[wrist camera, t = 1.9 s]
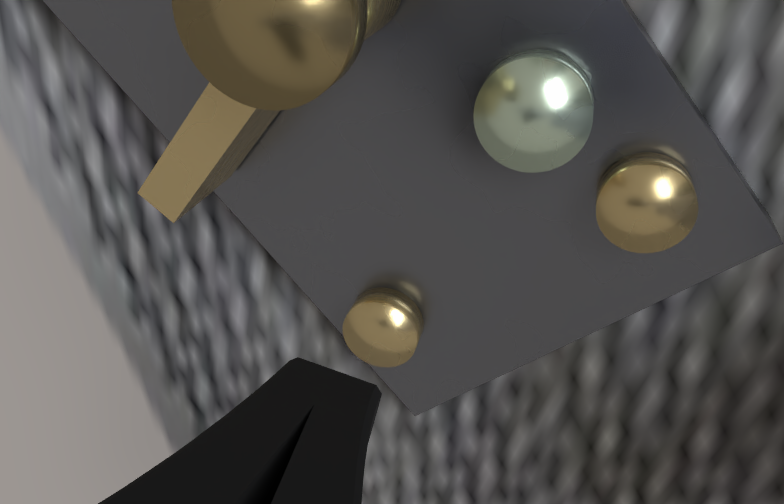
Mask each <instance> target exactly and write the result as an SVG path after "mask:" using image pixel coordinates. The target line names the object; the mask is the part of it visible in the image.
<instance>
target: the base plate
mask: <svg viewBox="0 0 784 504" xmlns="http://www.w3.org/2000/svg"><path fill="white" fill-rule="evenodd" d="M43 1H44V3H45V4H46V5H47V6H48V7H49V8H50V9H51V10H52V11H53V13H54V14H55V15H56V16H57V17H58V18H59V19H60V20H61V22H62V23H63V24H64V25H65V26H66V27H67V28H68V29H69V30H70V32H71V33H72V34H73V35H74V36H75V37H76V38H77V39H78V40H79V42H80V43H81V44H82V45H83V46H84V47H85V48H86V49H87V51H88V52H89V53H90V54H91V55H92V56H93V57H94V58H95V59H96V61H97V62H98V63H99V64H100V65H101V66H102V67H103V68H104V70H105V71H106V72H107V73H108V74H109V75H110V76H111V77H112V78H113V80H114V81H115V82H116V83H117V84H118V85H119V86H120V87H121V88H122V90H123V91H124V92H125V93H126V94H127V95H128V96H129V97H130V99H131V100H132V101H133V102H134V103H135V104H136V105H137V106H138V107H139V109H140V110H141V111H142V112H143V113H144V114H145V115H146V116H147V118H148V119H149V120H150V121H151V122H152V123H153V124H154V125H155V126H156V128H157V129H158V130H159V131H160V132H161V133H162V134H163V135H164V137H165V138H166V139H167V140H168V141H169V142H171V140H172V139H173V137H174V136H175V134H176V133H177V131H178V130H179V128H180V127H181V125H182V124H183V122H184V120H185V119H186V117H187V116H188V114H189V113H190V111H191V110H192V108H193V107H194V105H195V104H196V102H197V100H198V99H199V97H200V96H201V94H202V93H203V91H204V90H205V88H206V87H207V85H208V84H209V81H208V80H207V79H206V78H205V77H204V76H203V75H202V74H201V72H200V71H199V70H198V69H197V68H196V66H195V65H194V63H193V62H192V60H191V59H190V57H189V56H188V54H187V52H186V50H185V48H184V46H183V44H182V41H181V39H180V36H179V34H178V31H177V27H176V24H175V21H174V15H173V9H172V0H43ZM214 192H215V193H216V195H217V196H218V197H219V198H220V199H221V200H222V201H223V202H224V203H225V205H226V206H227V207H228V208H229V209H230V210H231V211H232V212H233V214H234V215H235V216H236V217H237V218H238V219H239V220H240V221H241V222H242V224H243V225H244V226H245V227H246V228H247V229H248V230H249V231H250V233H251V234H252V235H253V236H254V237H255V238H256V239H257V240H258V241H259V243H260V244H261V245H262V246H263V247H264V248H265V249H266V250H267V251H268V253H269V254H270V255H271V256H272V257H273V258H274V259H275V260H276V262H277V263H278V264H279V265H280V266H281V267H282V268H283V269H284V270H285V272H286V273H287V274H288V275H289V276H290V277H291V278H292V279H293V281H294V282H295V283H296V284H297V285H298V286H299V287H300V288H301V289H302V291H303V292H304V293H305V294H306V295H307V296H308V297H309V298H310V299H311V301H312V302H313V303H314V304H315V305H316V306H317V307H318V308H319V310H320V311H321V312H322V313H323V314H324V315H325V316H326V317H327V318H328V320H329V321H330V322H331V323H332V324H333V325H334V326H335V327H336V329H337V330H338V331H339V332H340V333H341V334H342V335H343V336H344V339H345V342H346V344H347V346H348V347H349V349H350V350H351V351H352V352H353V353H354V354H355V355H356V356H357V357H358V358H360V359H361V360H363V361H365V362H366V363H368V364H369V365H370V366H371V368H372V369H373V370H374V371H375V372H376V373H377V374H378V375H379V377H380V378H381V379H382V380H383V381H384V382H385V383H386V384H387V385H388V387H389V388H390V389H391V390H392V391H393V392H394V393H395V394H396V395H397V397H398V398H399V399H400V400H401V401H402V402H403V403H404V404H405V406H406V407H407V408H408V409H409V410H410V411H411V412H412V413H413V414H414V416H416V415H418V414H420V413H422V412H424V411H427V410H429V409H431V408H433V407H435V406H437V405H439V404H442V403H444V402H446V401H448V400H450V399H452V398H454V397H456V396H459V395H461V394H463V393H465V392H467V391H469V390H471V389H473V388H476V387H478V386H480V385H482V384H484V383H486V382H488V381H491V380H493V379H495V378H497V377H499V376H501V375H503V374H505V373H508V372H510V371H512V370H514V369H516V368H518V367H520V366H523V365H525V364H527V363H529V362H531V361H533V360H535V359H537V358H540V357H542V356H544V355H546V354H548V353H550V352H552V351H555V350H557V349H559V348H561V347H563V346H565V345H567V344H569V343H572V342H574V341H576V340H578V339H580V338H582V337H584V336H586V335H589V334H591V333H593V332H595V331H597V330H599V329H601V328H604V327H606V326H608V325H610V324H612V323H614V322H616V321H618V320H621V319H623V318H625V317H627V316H629V315H631V314H633V313H636V312H638V311H640V310H642V309H644V308H646V307H648V306H650V305H653V304H655V303H657V302H659V301H661V300H663V299H665V298H667V297H670V296H672V295H674V294H676V293H678V292H680V291H682V290H685V289H687V288H689V287H691V286H693V285H695V284H697V283H699V282H702V281H704V280H706V279H708V278H710V277H712V276H714V275H717V274H719V273H721V272H723V271H725V270H727V269H729V268H731V267H734V266H736V265H738V264H740V263H742V262H744V261H746V260H748V259H751V258H753V257H755V256H757V255H759V254H761V253H763V252H766V251H768V250H770V249H772V248H774V247H776V246H778V245H780V244H783V242H782V240H781V238H780V236H779V234H778V232H777V230H776V228H775V226H774V223H773V221H772V219H771V218H770V216H769V215H768V213H767V212H766V210H765V209H764V207H763V206H762V204H761V203H760V201H759V200H758V198H757V197H756V195H755V194H754V192H753V191H752V189H751V188H750V186H749V185H748V183H747V182H746V180H745V179H744V177H743V176H742V174H741V173H740V171H739V170H738V168H737V167H736V165H735V164H734V162H733V161H732V159H731V158H730V156H729V155H728V153H727V152H726V150H725V149H724V147H723V146H722V144H721V143H720V141H719V140H718V138H717V137H716V135H715V134H714V132H713V131H712V129H711V128H710V126H709V125H708V123H707V122H706V120H705V119H704V117H703V116H702V114H701V113H700V111H699V110H698V108H697V107H696V105H695V104H694V102H693V101H692V99H691V98H690V96H689V95H688V93H687V92H686V90H685V89H684V87H683V86H682V84H681V83H680V81H679V80H678V78H677V77H676V75H675V74H674V72H673V71H672V69H671V68H670V66H669V65H668V63H667V62H666V60H665V59H664V57H663V56H662V54H661V53H660V51H659V50H658V48H657V47H656V45H655V44H654V42H653V41H652V39H651V38H650V36H649V35H648V33H647V32H646V30H645V29H644V27H643V26H642V24H641V23H640V21H639V20H638V18H637V17H636V15H635V14H634V12H633V11H632V9H631V8H630V6H629V5H628V3H627V2H626V0H401V2H400V4H399V7H398V9H397V11H396V13H395V14H394V16H393V17H392V19H391V20H390V21H389V22H388V23H387V24H386V25H385V26H384V27H383V28H381V29H380V30H379V31H377V32H376V33H374V34H373V35H372V36H370V37H369V38H367V39H366V40H364V41H363V44H362V47H361V50H360V52H359V54H358V56H357V58H356V60H355V62H354V63H353V65H352V66H351V68H350V69H349V70H348V71H347V73H346V74H345V75H344V76H343V77H342V78H341V79H340V80H338V81H337V82H336V83H335V84H334V85H332V86H331V87H330V88H328V89H327V90H326V91H325V92H323V93H322V94H321V95H319V96H318V97H317V98H315V99H314V100H312V101H310V102H308V103H307V104H304V105H302V106H299V107H296V108H292V109H288V110H280V111H279V113H278V114H277V115H276V117H275V118H274V119H273V121H272V122H271V123H270V125H269V126H268V127H267V129H266V130H265V131H264V133H263V134H262V135H261V137H260V138H259V139H258V141H257V142H256V143H255V145H254V146H253V147H252V149H251V150H250V151H249V153H248V154H247V155H246V157H245V158H244V159H243V161H242V162H241V164H240V165H239V166H238V168H237V169H236V170H235V172H234V173H233V174H232V176H231V177H230V178H228V179H227V180H226V181H225V182H223V183H222V184H221V185H220V186H219V187H217V188H216V189H215V190H214Z"/></svg>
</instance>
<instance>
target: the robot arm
mask: <svg viewBox="0 0 784 504" xmlns="http://www.w3.org/2000/svg"><path fill="white" fill-rule="evenodd" d="M381 395H382V393H381V392H380V390H379V389H378V387H377V385H374V384H371V383H369V382H366V381H363V380H360V379H357V378H355V377H352V376H349V375H346V374H343V373H341V372H338V371H335V370H332V369H329V368H327V367H324V366H321V365H318V364H315V363H312V362H310V361H307V360H304V359H301V358H295V359H293V360H290V361H289V362H288V363H287V364H286V365H284V366H283V367H282V368H281V369H280V370H279V371H278V372H277V373H276V374H275V375H273V376H272V377H271V378H270V379H269V380H268V381H267V382H266V383H264V384H263V385H262V386H261V387H260V388H259V389H257V390H256V391H255V392H254V393H253V394H251V395H250V396H249V397H248V398H247V399H245V400H244V401H243V402H242V403H240V404H239V405H238V406H237V407H235V408H234V409H233V410H232V411H230V412H229V413H228V414H227V415H225V416H224V417H223V418H221V419H220V420H219V421H217V422H216V423H215V424H213V425H212V426H211V427H209V428H208V429H207V430H205V431H204V432H203V433H201V434H200V435H199V436H198V437H196V438H195V439H194V440H192V441H191V442H190V443H188V444H187V445H185V446H184V447H183V448H181V449H180V450H179V451H177V452H176V453H174V454H173V455H171V456H170V457H169V458H167V459H165V460H164V461H162V462H161V463H159V464H158V465H157V466H155V467H154V468H152V469H151V470H149V471H148V472H146V473H145V474H143V475H142V476H140V477H139V478H137V479H136V480H134V481H133V482H131V483H130V484H128V485H127V486H125V487H124V488H122V489H121V490H119V491H118V492H116V493H114V494H113V495H111V496H110V497H108V498H106V499H105V500H103V501H102V502H100V503H98V504H361V503H362V487H363V476H364V466H365V459H366V452H367V445H368V442H369V438H370V434H371V431H372V427H373V424H374V420H375V416H376V413H377V409H378V406H379V402H380V398H381Z"/></svg>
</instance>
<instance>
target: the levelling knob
mask: <svg viewBox="0 0 784 504" xmlns="http://www.w3.org/2000/svg"><path fill="white" fill-rule="evenodd" d="M400 2H401V0H172V9H173V15H174V21H175V24H176V27H177V31H178V34H179V36H180V39H181V41H182V44H183V46H184V48H185V50H186V52H187V54H188V56H189V57H190V59H191V60H192V62H193V63H194V65H195V66H196V68H197V69H198V70H199V71H200V72H201V74H202V75H203V76H204V77H205V78H206V79H207V80H208V81H209V84H208V85H207V87H206V88H205V90H204V91H203V93H202V94H201V96H200V97H199V99H198V100H197V102H196V104H195V105H194V107H193V108H192V110H191V111H190V113H189V114H188V116H187V117H186V119H185V120H184V122H183V124H182V125H181V127H180V128H179V130H178V131H177V133H176V134H175V136H174V137H173V139H172V140H171V142H170V144H169V145H168V147H167V148H166V150H165V151H164V153H163V154H162V156H161V157H160V159H159V160H158V162H157V164H156V165H155V167H154V168H153V170H152V171H151V173H150V174H149V176H148V177H147V179H146V180H145V182H144V184H143V185H142V187H141V188H140V190H139V191H138V194H139V195H141V196H142V197H143V198H144V199H145V200H147V201H148V202H149V203H150V204H151V205H153V206H154V207H155V208H156V209H157V210H159V211H160V212H161V213H162V214H163V215H165V216H166V217H167V218H168V219H169V220H170V221H172V222H173V223H174V222H176V221H177V220H178V219H179V218H180V217H182V216H183V215H184V214H185V213H187V212H188V211H189V210H190V209H192V208H193V207H194V206H195V205H196V204H198V203H199V202H200V201H201V200H203V199H204V198H205V197H206V196H208V195H209V194H210V193H211V192H212V191H214V190H215V189H216V188H217V187H219V186H220V185H221V184H222V183H223V182H225V181H226V180H227V179H228V178H230V177H231V176H232V174H233V173H234V172H235V170H236V169H237V168H238V166H239V165H240V164H241V162H242V161H243V159H244V158H245V157H246V155H247V154H248V153H249V151H250V150H251V149H252V147H253V146H254V145H255V143H256V142H257V141H258V139H259V138H260V137H261V135H262V134H263V133H264V131H265V130H266V129H267V127H268V126H269V125H270V123H271V122H272V121H273V119H274V118H275V117H276V115H277V114H278V113H279V111H280V110H288V109H292V108H296V107H299V106H302V105H304V104H307V103H308V102H310V101H312V100H314V99H315V98H317V97H318V96H319V95H321V94H322V93H323V92H325V91H326V90H327V89H328V88H330V87H331V86H332V85H334V84H335V83H336V82H337V81H338V80H340V79H341V78H342V77H343V76H344V75H345V74H346V73H347V71H348V70H349V69H350V68H351V66H352V65H353V63H354V62H355V60H356V58H357V56H358V54H359V52H360V50H361V47H362V44H363V41H364V40H366V39H367V38H369V37H370V36H372V35H373V34H374V33H376V32H377V31H379V30H380V29H381V28H383V27H384V26H385V25H386V24H387V23H388V22H389V21H390V20H391V19H392V17H393V16H394V14H395V13H396V11H397V9H398V7H399V4H400Z"/></svg>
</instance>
